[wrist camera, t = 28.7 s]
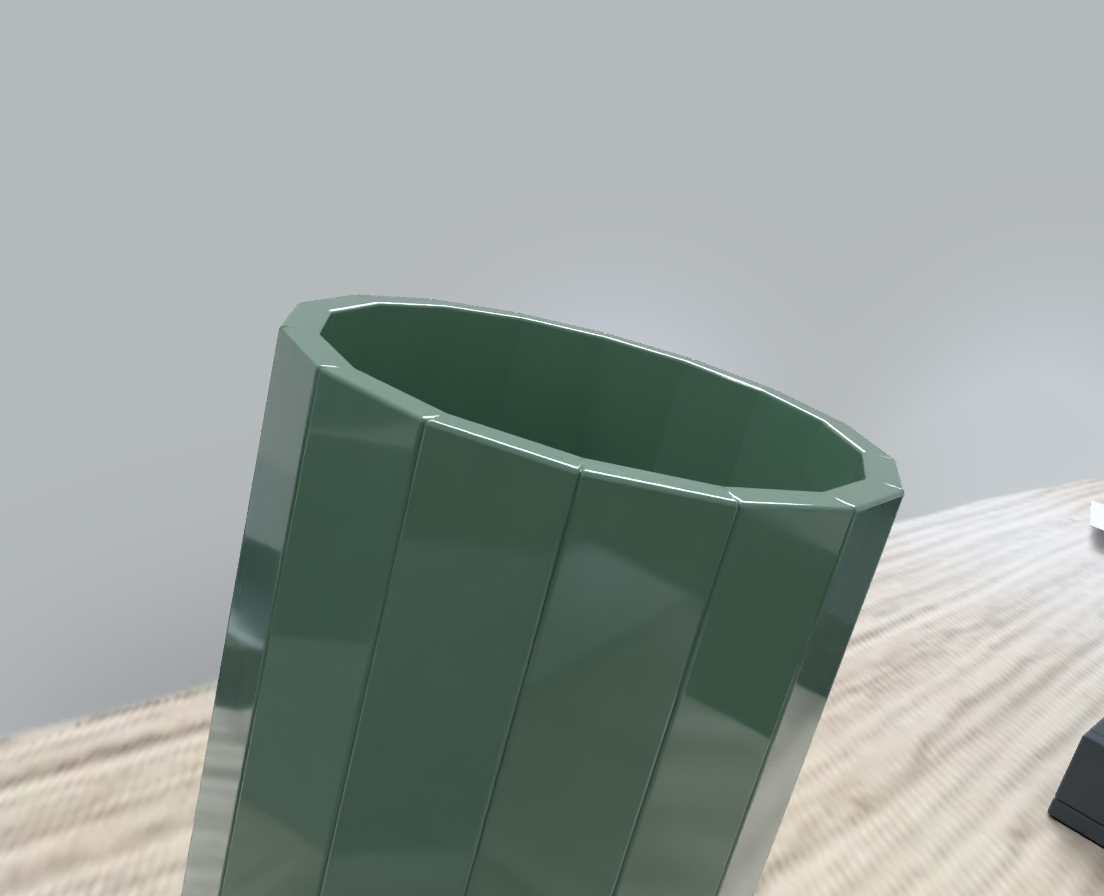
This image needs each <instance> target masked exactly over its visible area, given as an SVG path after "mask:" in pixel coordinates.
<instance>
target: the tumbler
mask: <svg viewBox="0 0 1104 896" xmlns="http://www.w3.org/2000/svg"><path fill="white" fill-rule="evenodd" d="M903 496H904V488H903V485H902V481H901V478H900V474H899V470H898V467H897V463H896V461H894V459H893V458H891V457H890V456H889V455H887V454H886V453H885V452H883V451H882V450H881V449H879V448H878V447H876V446H875V445H874V444H872V443H871V442H870V441H868V440H867V439H866V438H864V437H863V436H862V435H860V434H859V433H857V432H856V431H854V430H853V429H852V428H851V427H849V426H848V425H846V424H844V423H843V422H841V421H839V420H837V419H835V418H832V417H830V416H828V415H826V414H824V413H822V412H820V411H818V410H816V409H814V408H812V407H810V406H808V405H806V404H804V403H801V402H800V401H797V400H795V399H793V398H791V397H789V396H787V395H785V394H783V393H781V392H779V391H775V390H774V389H772V388H769V387H766V386H764V385H761V384H759V383H756V382H753V381H750V380H748V379H745V378H742V377H740V376H737V375H734V374H732V373H729V372H726V371H723V370H721V369H718V368H716V367H713V366H710V365H708V364H705V363H702V362H700V361H697V360H692V359H690V358H688V357H684V356H681V355H678V354H674V353H671V352H667V351H664V350H661V349H658V348H654V347H651V346H647V345H644V344H641V343H637V342H634V341H631V340H627V339H624V338H621V337H617V336H614V335H610V334H604V333H603V332H599V331H595V330H590V329H586V328H582V327H577V326H573V325H569V324H564V323H560V322H556V321H551V320H547V319H542V318H538V317H534V316H530V315H525V314H521V313H514V312H511V311H504V310H498V309H491V308H485V307H479V306H473V305H466V304H460V303H454V302H447V301H441V300H435V299H432V300H430V299H424V298H407V297H389V296H369V295H350V296H343V297H336V298H329V299H322V300H316V301H309V302H302V303H300V304H297V306H296V307H295V308H294V309H293V311H292V312H291V313H290V315H289V316H288V317H287V319H286V320H285V322H284V323H283V324H282V325H281V327H280V328H279V333H278V338H277V344H276V350H275V356H274V361H273V367H272V373H271V379H270V385H269V391H268V396H267V402H266V408H265V413H264V419H263V425H262V431H261V437H260V442H259V449H258V454H257V460H256V466H255V472H254V477H253V483H252V489H251V495H250V500H249V506H248V512H247V518H246V524H245V529H244V535H243V541H242V547H241V553H240V558H239V564H238V570H237V576H236V581H235V588H234V593H233V599H232V604H231V611H230V616H229V622H228V628H227V633H226V639H225V645H224V651H223V656H222V662H221V668H220V674H219V679H218V685H217V691H216V697H215V703H214V708H213V714H212V720H211V726H210V732H209V737H208V743H207V749H206V755H205V760H204V766H203V772H202V778H201V784H200V789H199V795H198V801H197V807H196V812H195V818H194V824H193V830H192V836H191V841H190V847H189V853H188V859H187V865H186V870H185V876H184V882H183V888H182V893H181V896H754V893H755V891H756V888H757V885H758V883H759V880H760V877H761V875H762V872H763V869H764V867H765V864H766V861H767V859H768V856H769V853H770V851H771V848H772V845H773V843H774V840H775V837H776V835H777V832H778V829H779V827H780V824H781V821H782V819H783V816H784V813H785V811H786V808H787V805H788V803H789V800H790V797H791V795H792V792H793V789H794V787H795V784H796V782H797V779H798V776H799V774H800V771H801V768H802V766H803V763H804V760H805V758H806V755H807V752H808V750H809V747H810V744H811V742H812V739H813V736H814V734H815V731H816V728H817V726H818V723H819V720H820V718H821V715H822V712H823V710H824V707H825V704H826V702H827V699H828V696H829V694H830V691H831V688H832V686H833V683H834V680H835V678H836V675H837V672H838V670H839V667H840V664H841V662H842V659H843V656H844V654H845V651H846V648H847V646H848V643H849V640H850V638H851V635H852V632H853V630H854V627H855V624H856V622H857V619H858V616H859V614H860V611H861V608H862V606H863V603H864V600H865V598H866V595H867V592H868V590H869V587H870V584H871V582H872V579H873V576H874V574H875V571H876V568H877V566H878V563H879V560H880V558H881V555H882V552H883V550H884V547H885V544H886V542H887V539H888V536H889V534H890V531H891V528H892V526H893V523H894V520H895V518H896V515H897V512H898V510H899V507H900V504H901V502H902V499H903Z"/></svg>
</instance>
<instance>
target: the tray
mask: <svg viewBox="0 0 1104 896" xmlns="http://www.w3.org/2000/svg"><path fill="white" fill-rule="evenodd" d="M1048 814H1050V815H1051V816H1053V817H1055V818H1056V819H1058V820H1060V821H1061V822H1063V823H1065V824H1066V825H1068V826H1070V827H1072V828H1073V829H1075V830H1077V831H1078V832H1080V833H1082V834H1083V835H1085V836H1087V837H1088V838H1090V839H1092V840H1093V841H1095V842H1097V843H1098V844H1100V845H1102V846H1103V847H1104V718H1103V719H1101V720H1100V721H1099V722H1098V723H1097V724H1096V725H1095V726H1094V727H1092V728H1091V729H1090V730H1089V731H1088V732H1087V733H1086V734H1084V735H1083V736H1082V738H1081V741H1080V743H1079V745H1078V747H1077V749H1076V751H1075V754H1074V756H1073V758H1072V760H1071V762H1070V764H1069V766H1068V769H1067V771H1066V773H1065V775H1064V777H1063V779H1062V781H1061V784H1060V786H1059V788H1058V790H1057V792H1056V794H1055V798H1054V799H1053V801H1052V803H1051V805H1050V807H1049V809H1048Z"/></svg>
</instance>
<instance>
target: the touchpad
mask: <svg viewBox="0 0 1104 896" xmlns="http://www.w3.org/2000/svg"><path fill="white" fill-rule="evenodd" d="M1089 526H1092V527H1095V528H1098V529H1101V530H1104V505H1103V504H1101V503H1098V502H1095V501H1091V512H1090V525H1089Z"/></svg>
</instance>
